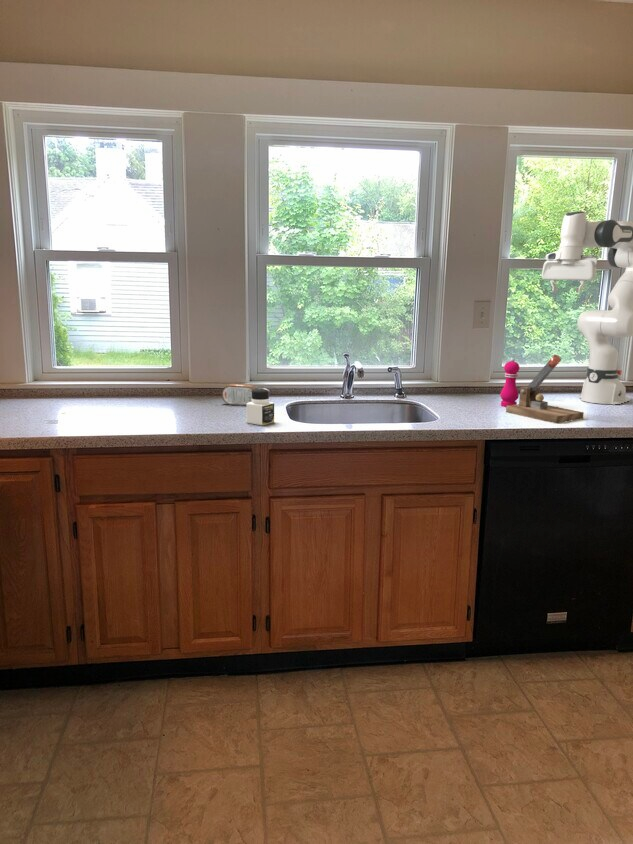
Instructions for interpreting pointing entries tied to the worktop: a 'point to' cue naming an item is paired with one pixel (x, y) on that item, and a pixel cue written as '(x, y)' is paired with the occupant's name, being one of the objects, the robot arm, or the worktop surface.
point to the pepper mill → (510, 384)
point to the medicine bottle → (260, 408)
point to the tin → (237, 394)
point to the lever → (544, 373)
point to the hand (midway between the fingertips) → (566, 292)
